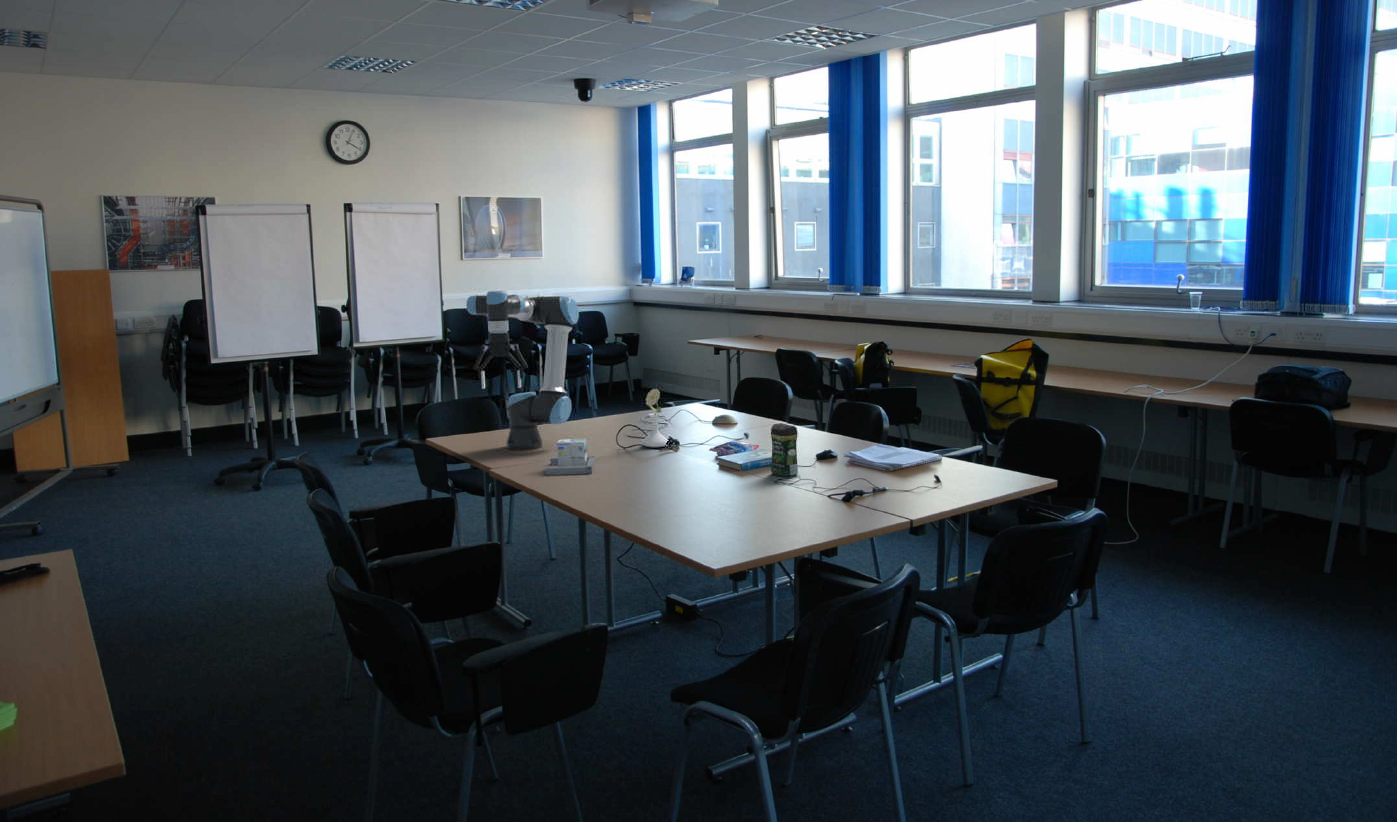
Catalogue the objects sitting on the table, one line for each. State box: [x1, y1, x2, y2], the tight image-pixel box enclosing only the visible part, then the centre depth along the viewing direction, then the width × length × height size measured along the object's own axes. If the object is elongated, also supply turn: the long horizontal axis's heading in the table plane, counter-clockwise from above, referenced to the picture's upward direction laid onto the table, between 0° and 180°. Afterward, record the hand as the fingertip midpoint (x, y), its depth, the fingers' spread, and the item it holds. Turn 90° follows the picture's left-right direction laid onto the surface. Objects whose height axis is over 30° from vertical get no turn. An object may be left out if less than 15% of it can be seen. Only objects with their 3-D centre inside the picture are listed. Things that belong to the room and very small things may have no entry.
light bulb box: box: [556, 438, 588, 467], centre depth 369 cm, size 11×7×11 cm, turn 90°
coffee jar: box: [770, 422, 799, 478], centre depth 349 cm, size 10×8×19 cm
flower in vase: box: [641, 388, 669, 448], centre depth 405 cm, size 13×11×25 cm
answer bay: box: [544, 455, 596, 476], centre depth 368 cm, size 20×17×2 cm
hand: (501, 388), depth 369 cm, fingers open, 13 cm apart
